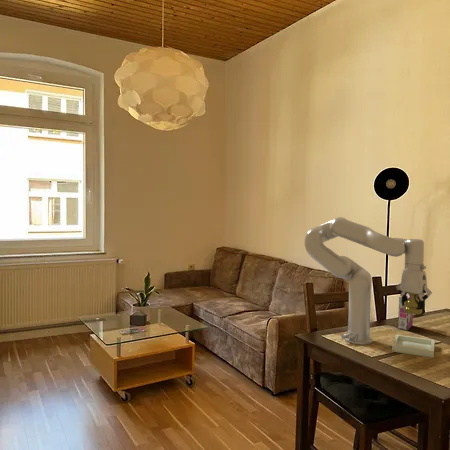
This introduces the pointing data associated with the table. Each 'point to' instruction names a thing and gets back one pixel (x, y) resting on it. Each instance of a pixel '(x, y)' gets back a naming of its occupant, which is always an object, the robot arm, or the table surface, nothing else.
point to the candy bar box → (404, 316)
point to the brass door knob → (412, 304)
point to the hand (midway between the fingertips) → (412, 306)
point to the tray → (413, 346)
